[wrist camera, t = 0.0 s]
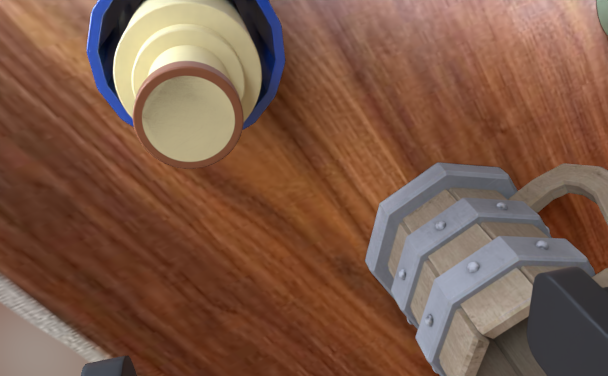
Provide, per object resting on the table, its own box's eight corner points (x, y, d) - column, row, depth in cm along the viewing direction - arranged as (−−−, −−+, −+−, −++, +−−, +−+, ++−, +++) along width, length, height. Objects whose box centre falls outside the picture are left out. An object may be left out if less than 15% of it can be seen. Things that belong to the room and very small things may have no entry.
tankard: (416, 320, 47) (503, 479, 34) (339, 230, 41) (408, 381, 28) (616, 187, 44) (794, 305, 31) (564, 69, 38) (758, 154, 25)
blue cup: (91, -49, 29) (61, -35, 22) (253, -67, 30) (272, -59, 23) (132, 106, 34) (117, 158, 27) (272, 85, 35) (293, 130, 28)
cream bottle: (125, -22, 30) (68, 41, 16) (232, -35, 30) (267, 15, 17) (150, 82, 33) (120, 213, 19) (247, 68, 33) (288, 184, 19)
